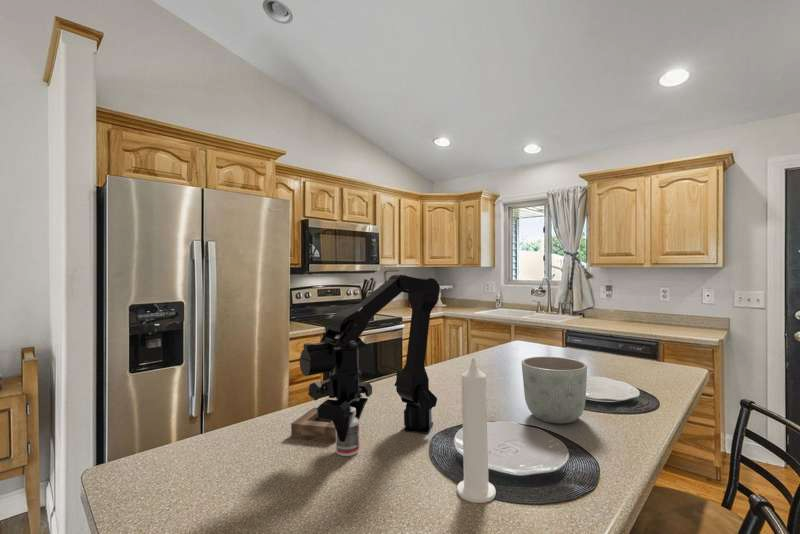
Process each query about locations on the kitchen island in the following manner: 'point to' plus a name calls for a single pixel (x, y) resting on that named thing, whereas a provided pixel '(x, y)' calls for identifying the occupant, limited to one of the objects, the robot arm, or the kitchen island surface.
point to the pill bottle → (349, 438)
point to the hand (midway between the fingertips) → (347, 436)
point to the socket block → (313, 427)
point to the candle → (475, 438)
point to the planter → (555, 388)
